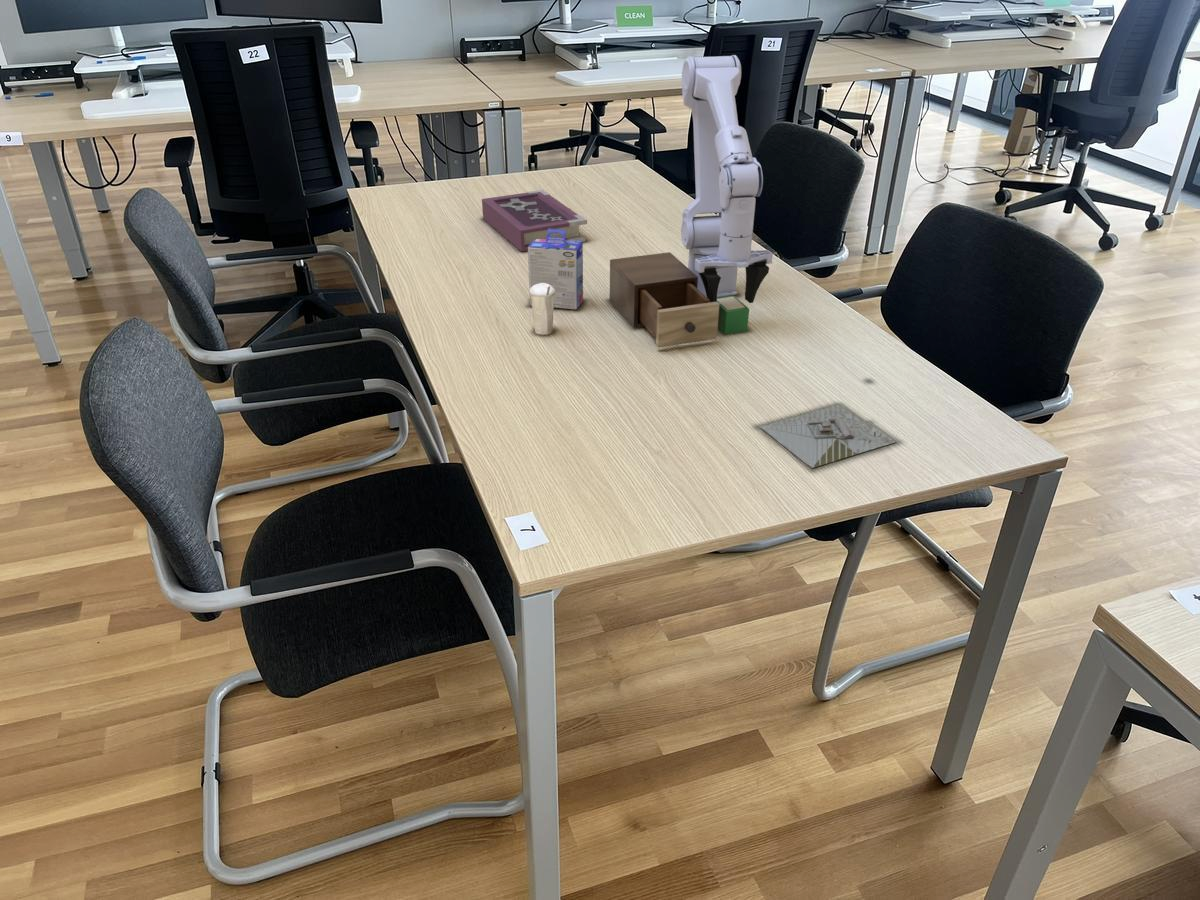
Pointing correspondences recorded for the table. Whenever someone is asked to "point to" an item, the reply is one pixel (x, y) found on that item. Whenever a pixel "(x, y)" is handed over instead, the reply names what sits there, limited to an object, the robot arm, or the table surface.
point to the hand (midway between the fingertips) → (730, 303)
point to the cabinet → (643, 280)
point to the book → (531, 218)
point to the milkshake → (542, 307)
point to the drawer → (677, 314)
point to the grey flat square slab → (826, 435)
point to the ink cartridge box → (558, 268)
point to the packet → (732, 315)
